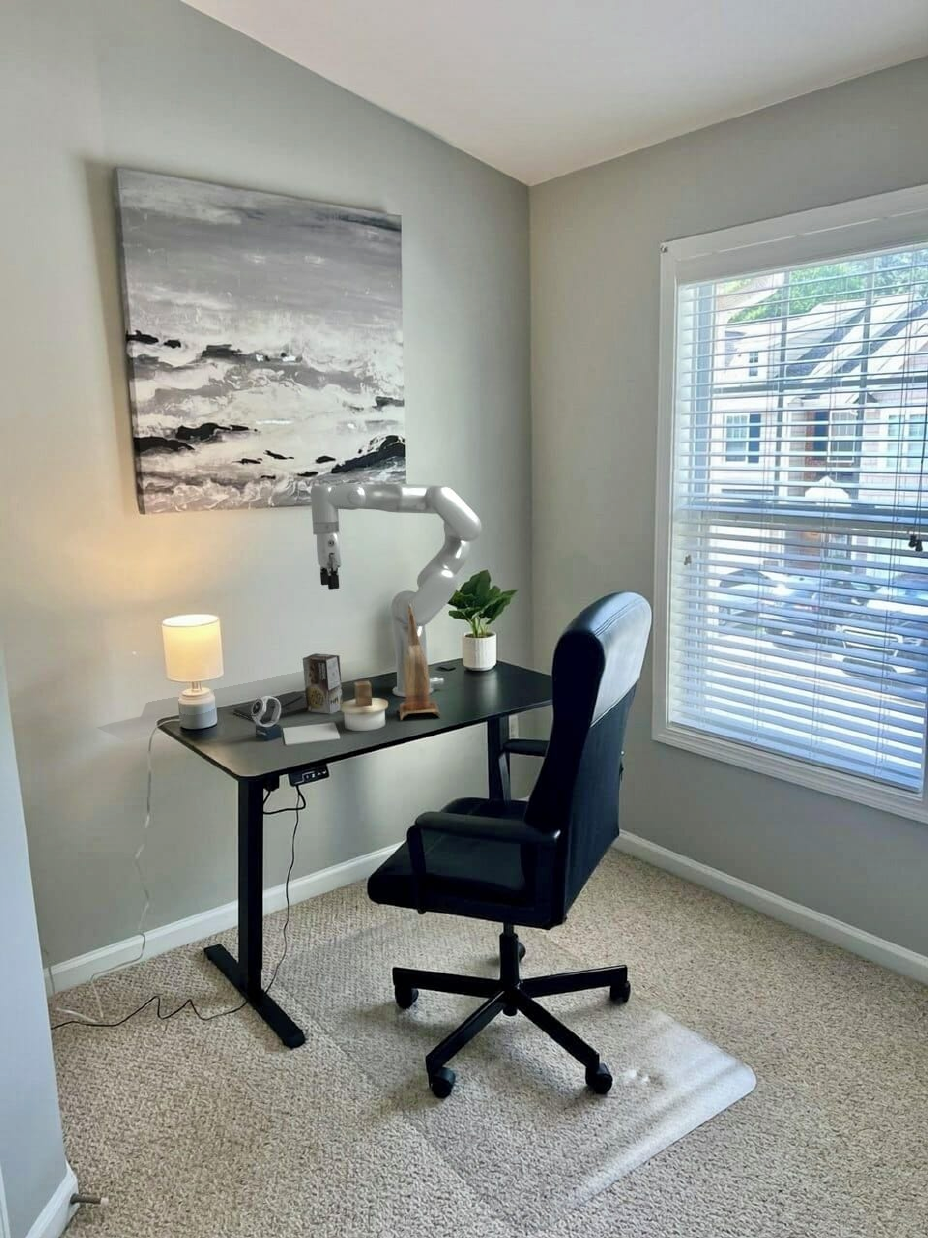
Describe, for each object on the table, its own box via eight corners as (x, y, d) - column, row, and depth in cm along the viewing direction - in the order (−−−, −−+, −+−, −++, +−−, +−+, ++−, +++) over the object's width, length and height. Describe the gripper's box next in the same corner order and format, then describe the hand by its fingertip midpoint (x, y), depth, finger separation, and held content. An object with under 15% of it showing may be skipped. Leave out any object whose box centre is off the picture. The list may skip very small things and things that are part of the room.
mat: (334, 724, 247) (334, 722, 247) (340, 739, 233) (340, 737, 233) (283, 729, 243) (282, 728, 243) (286, 745, 230) (285, 744, 230)
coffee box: (344, 708, 261) (340, 655, 258) (330, 714, 256) (326, 659, 253) (320, 705, 266) (316, 652, 263) (305, 711, 260) (301, 657, 257)
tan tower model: (436, 708, 259) (429, 599, 254) (441, 718, 247) (434, 604, 242) (398, 712, 257) (390, 602, 252) (401, 722, 246) (393, 607, 241)
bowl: (381, 717, 251) (380, 699, 250) (388, 728, 241) (387, 710, 240) (342, 721, 249) (341, 704, 248) (347, 733, 238) (346, 715, 237)
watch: (249, 738, 237) (246, 698, 235) (275, 731, 242) (272, 692, 240) (261, 743, 233) (257, 702, 231) (287, 735, 238) (284, 695, 236)
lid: (383, 698, 252) (382, 675, 250) (391, 711, 239) (390, 686, 238) (337, 703, 248) (335, 679, 247) (343, 716, 236) (341, 691, 235)
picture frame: (295, 700, 275) (234, 715, 262) (294, 691, 275) (233, 706, 261) (323, 709, 264) (261, 726, 250) (323, 700, 263) (260, 716, 250)
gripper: (346, 529, 251) (349, 589, 254) (332, 525, 267) (335, 582, 270) (319, 531, 248) (323, 592, 252) (307, 527, 264) (311, 584, 268)
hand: (330, 587), depth 261 cm, fingers open, 9 cm apart
